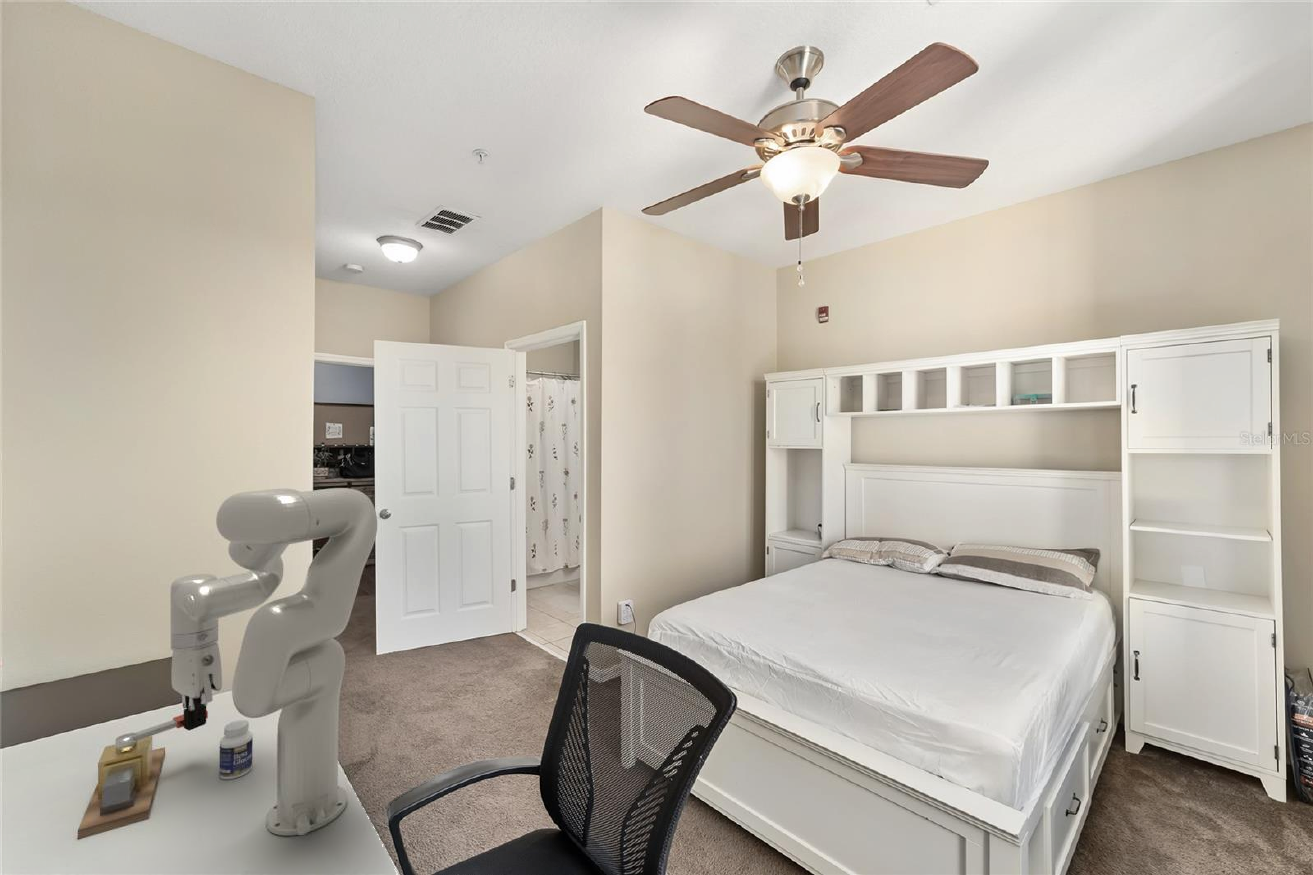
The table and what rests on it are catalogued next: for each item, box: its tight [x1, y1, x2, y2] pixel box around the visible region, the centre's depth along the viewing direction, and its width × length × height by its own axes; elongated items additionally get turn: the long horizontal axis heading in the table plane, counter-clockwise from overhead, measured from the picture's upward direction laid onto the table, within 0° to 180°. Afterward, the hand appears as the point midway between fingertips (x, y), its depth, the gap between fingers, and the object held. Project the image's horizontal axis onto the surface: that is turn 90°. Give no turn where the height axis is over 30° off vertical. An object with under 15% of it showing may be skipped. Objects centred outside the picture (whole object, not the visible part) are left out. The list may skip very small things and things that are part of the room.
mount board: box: [77, 746, 166, 840], centre depth 108 cm, size 24×9×2 cm, turn 36°
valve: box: [97, 735, 153, 816], centre depth 108 cm, size 20×7×7 cm, turn 36°
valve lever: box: [115, 709, 209, 752], centre depth 113 cm, size 14×3×2 cm, turn 148°
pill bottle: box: [218, 719, 254, 780], centre depth 115 cm, size 5×5×10 cm
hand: (195, 726), depth 115 cm, fingers closed
